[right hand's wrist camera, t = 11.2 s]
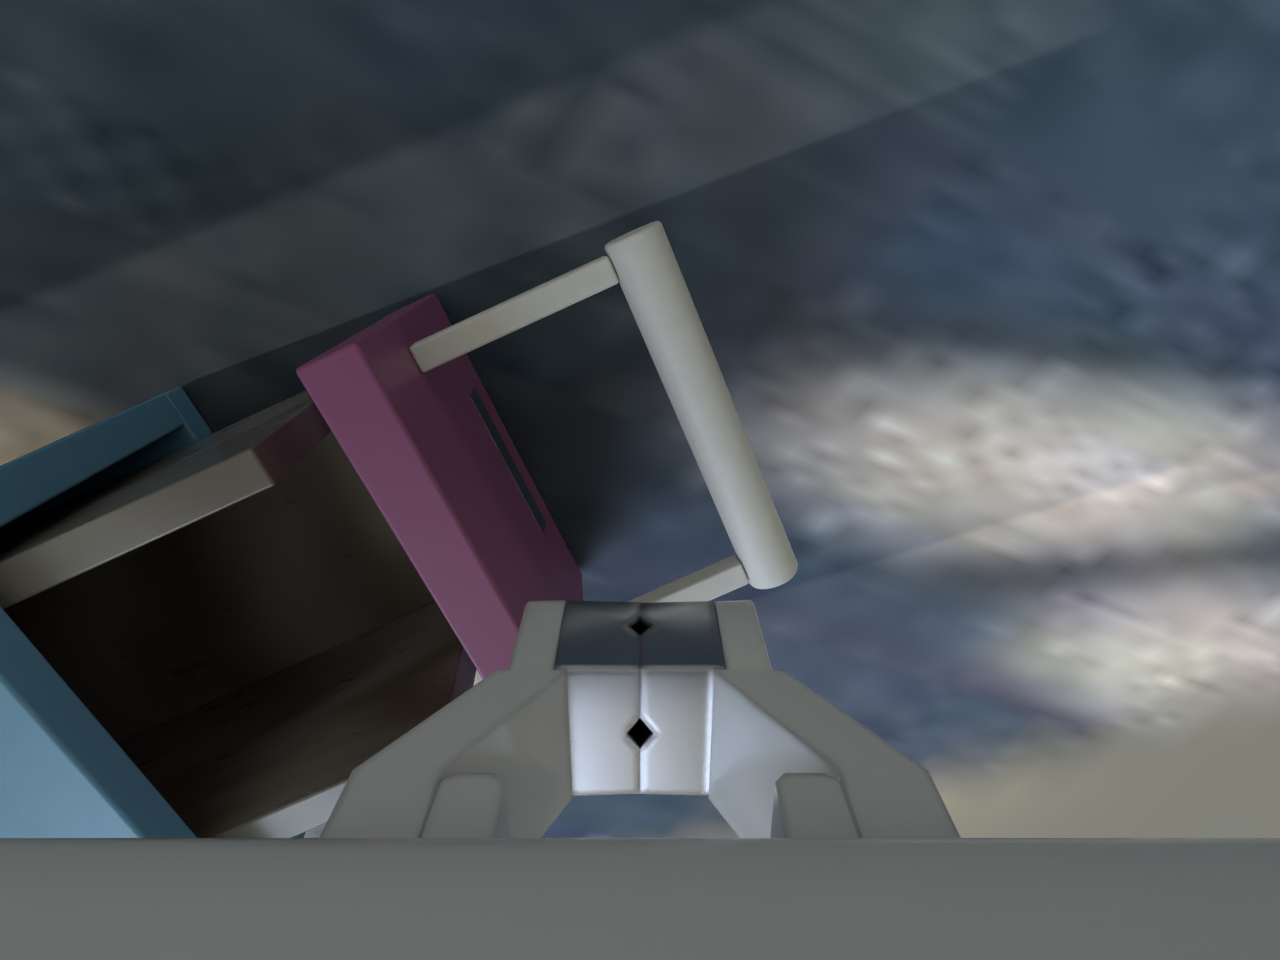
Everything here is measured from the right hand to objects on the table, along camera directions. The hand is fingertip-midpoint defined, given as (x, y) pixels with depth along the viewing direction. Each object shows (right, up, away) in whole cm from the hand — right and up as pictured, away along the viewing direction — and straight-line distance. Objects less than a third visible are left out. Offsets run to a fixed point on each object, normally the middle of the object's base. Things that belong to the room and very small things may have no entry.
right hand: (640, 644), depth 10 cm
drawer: (-8, +1, +13) cm, 15 cm away
